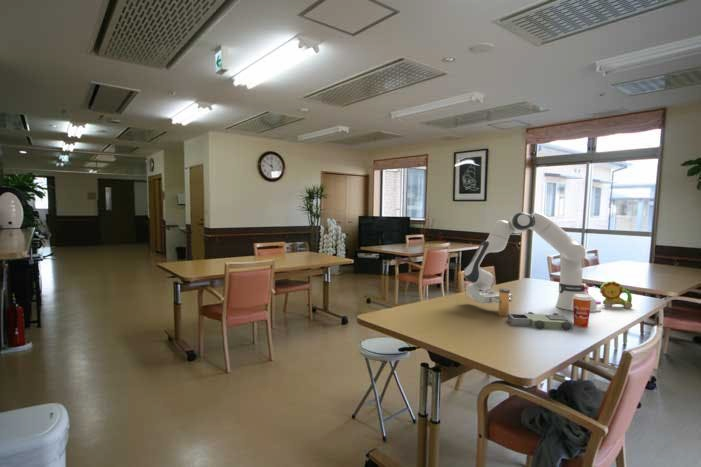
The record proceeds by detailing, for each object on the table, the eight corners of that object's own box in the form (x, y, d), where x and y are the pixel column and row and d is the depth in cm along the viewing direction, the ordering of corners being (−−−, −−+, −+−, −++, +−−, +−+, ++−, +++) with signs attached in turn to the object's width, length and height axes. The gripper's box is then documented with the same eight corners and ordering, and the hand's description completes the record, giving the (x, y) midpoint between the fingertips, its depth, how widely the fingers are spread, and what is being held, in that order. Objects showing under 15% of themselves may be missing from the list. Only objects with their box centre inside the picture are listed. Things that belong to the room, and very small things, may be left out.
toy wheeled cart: (561, 321, 199) (561, 313, 198) (573, 330, 183) (574, 322, 183) (524, 319, 201) (524, 311, 201) (533, 328, 186) (533, 320, 186)
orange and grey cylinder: (507, 314, 211) (508, 288, 210) (509, 316, 206) (510, 290, 205) (497, 313, 212) (498, 288, 211) (499, 316, 207) (500, 290, 206)
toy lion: (628, 306, 229) (630, 281, 228) (632, 309, 224) (633, 283, 223) (598, 304, 234) (599, 279, 233) (600, 306, 229) (602, 281, 228)
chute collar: (526, 321, 198) (526, 314, 198) (531, 326, 189) (531, 319, 189) (507, 320, 200) (507, 313, 199) (512, 325, 191) (512, 318, 190)
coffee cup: (571, 326, 190) (573, 296, 189) (570, 322, 197) (572, 293, 196) (591, 329, 186) (593, 298, 185) (590, 324, 193) (591, 295, 192)
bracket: (576, 299, 246) (577, 289, 245) (582, 299, 248) (582, 288, 248) (597, 304, 234) (597, 293, 234) (602, 303, 237) (603, 292, 236)
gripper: (502, 299, 224) (520, 305, 211) (473, 302, 217) (489, 308, 204) (502, 288, 224) (520, 293, 211) (473, 291, 217) (490, 296, 204)
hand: (505, 300), depth 208 cm, fingers open, 6 cm apart
